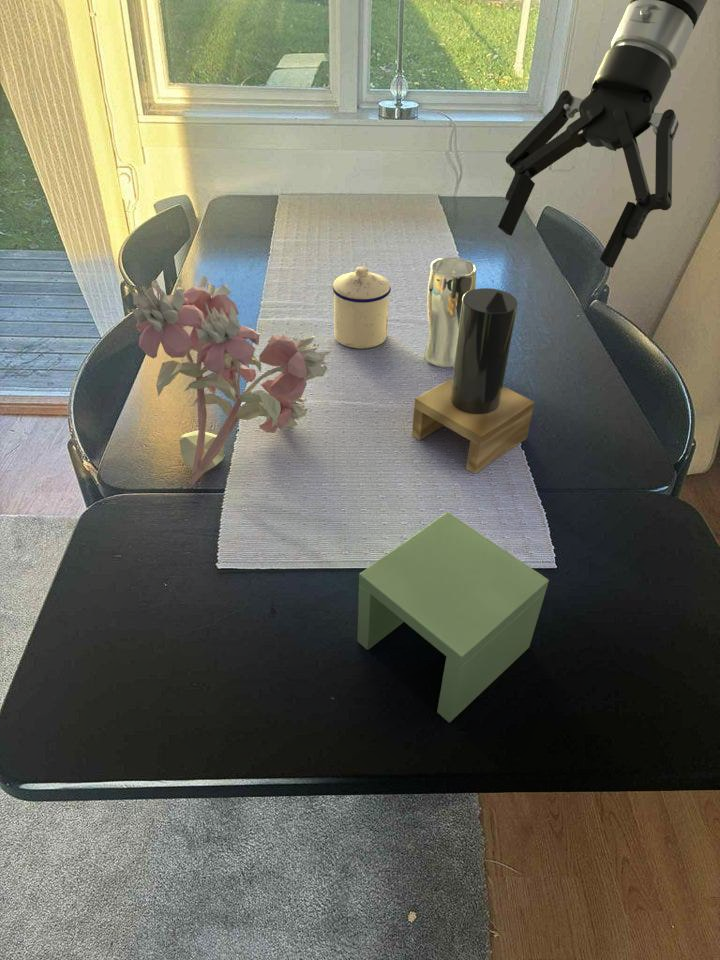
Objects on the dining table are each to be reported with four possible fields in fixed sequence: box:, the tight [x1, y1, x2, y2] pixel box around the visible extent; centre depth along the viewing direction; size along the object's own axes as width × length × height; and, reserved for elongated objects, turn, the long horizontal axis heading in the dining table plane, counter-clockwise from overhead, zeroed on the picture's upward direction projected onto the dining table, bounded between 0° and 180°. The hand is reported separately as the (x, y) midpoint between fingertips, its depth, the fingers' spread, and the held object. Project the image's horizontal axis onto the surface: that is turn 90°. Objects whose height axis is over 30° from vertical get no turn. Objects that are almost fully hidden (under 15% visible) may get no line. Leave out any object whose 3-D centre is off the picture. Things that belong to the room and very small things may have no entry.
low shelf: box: [411, 377, 535, 475], centre depth 92 cm, size 11×11×6 cm
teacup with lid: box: [332, 265, 392, 350], centre depth 112 cm, size 12×9×12 cm
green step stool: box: [357, 511, 550, 724], centre depth 66 cm, size 12×12×10 cm
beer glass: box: [424, 256, 478, 368], centre depth 105 cm, size 7×7×15 cm
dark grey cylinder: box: [450, 287, 519, 414], centre depth 86 cm, size 6×6×14 cm
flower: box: [131, 275, 332, 487], centre depth 86 cm, size 20×22×25 cm
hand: (553, 247), depth 82 cm, fingers open, 13 cm apart
